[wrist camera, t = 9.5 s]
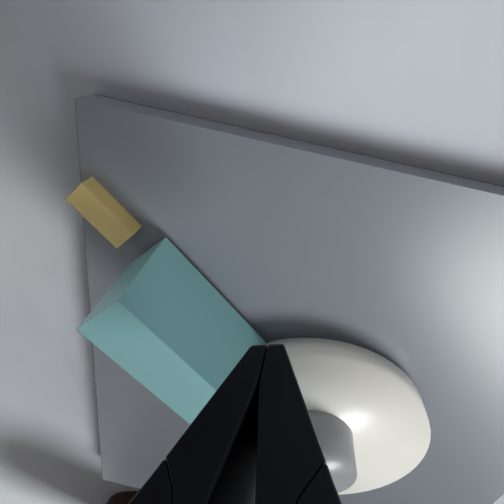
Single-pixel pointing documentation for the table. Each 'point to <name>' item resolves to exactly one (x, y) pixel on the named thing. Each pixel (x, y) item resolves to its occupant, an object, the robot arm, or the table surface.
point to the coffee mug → (122, 498)
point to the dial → (232, 350)
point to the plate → (305, 275)
